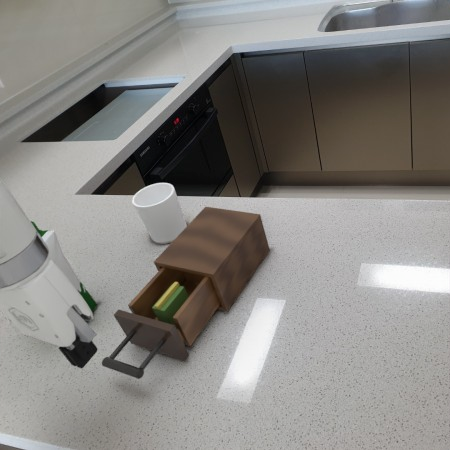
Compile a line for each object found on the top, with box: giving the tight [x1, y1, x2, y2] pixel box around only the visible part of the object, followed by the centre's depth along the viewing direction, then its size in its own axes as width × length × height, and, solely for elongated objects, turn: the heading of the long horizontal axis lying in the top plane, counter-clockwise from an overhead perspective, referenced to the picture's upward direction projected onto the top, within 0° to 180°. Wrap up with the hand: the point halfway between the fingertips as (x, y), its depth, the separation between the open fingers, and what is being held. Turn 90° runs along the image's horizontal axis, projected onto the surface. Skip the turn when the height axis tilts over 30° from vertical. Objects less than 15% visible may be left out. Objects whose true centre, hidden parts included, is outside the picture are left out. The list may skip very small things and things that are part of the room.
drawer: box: [101, 267, 221, 380], centre depth 75 cm, size 22×11×7 cm, turn 156°
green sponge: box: [152, 282, 189, 329], centre depth 76 cm, size 3×6×6 cm, turn 156°
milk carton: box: [30, 220, 98, 324], centre depth 79 cm, size 9×9×20 cm
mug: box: [131, 182, 188, 245], centre depth 100 cm, size 11×9×10 cm
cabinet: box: [153, 206, 271, 312], centre depth 86 cm, size 17×13×9 cm
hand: (85, 357), depth 62 cm, fingers closed
